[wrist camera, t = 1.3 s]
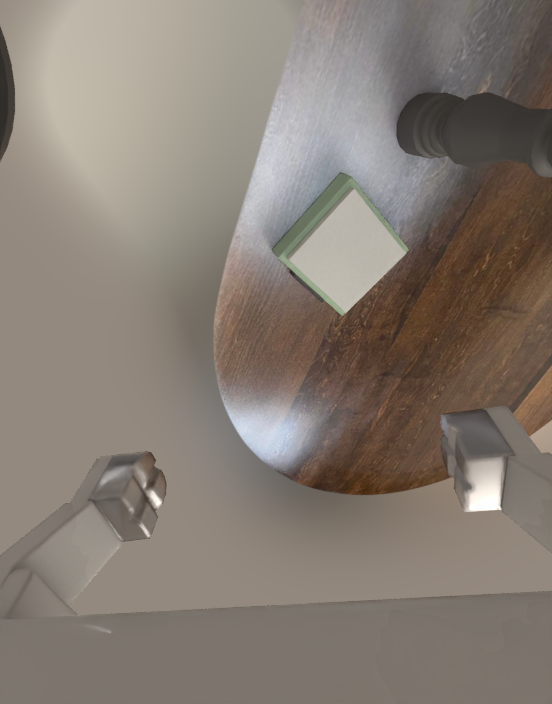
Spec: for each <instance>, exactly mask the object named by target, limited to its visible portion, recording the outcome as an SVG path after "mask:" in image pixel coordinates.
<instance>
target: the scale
mask: <svg viewBox="0 0 552 704" xmlns="http://www.w3.org/2000/svg"><path fill="white" fill-rule="evenodd" d="M272 251H273V252H274V253H275V255H276V256H277V257H278V258H279V259H280V260H281V261H282V262H283V263H284V264H285V265H286V266H288V267H289V268H290V269H291V270H290V273H291V274H292V276H293V277H294V278H295V279H297V280H298V281H299V282H300V283H301V284H302V285H303V286H304V287H306V288H307V289H308V290H309V291H310V292H311V293H312V294H313V295H314V296H316V297H317V298H318V299H319V300H320V301H321V302H323V301H324V300H325V301H326V302H327V303H328V304H330V305H331V306H332V307H333V308H334V309H335V310H336V311H337V312H338V313H340V314H341V315H342V316H343V315H344V314H345V313H346V312H347V311H348V310H349V309H350V308H351V307H352V306H353V305H354V304H355V303H356V302H357V301H358V300H359V299H360V298H361V297H362V296H363V295H365V294H366V293H367V292H368V291H369V290H370V289H371V288H372V287H373V286H374V285H375V284H376V283H377V282H378V281H379V280H380V279H381V278H382V277H383V276H384V275H385V274H386V273H387V272H388V271H389V270H390V269H391V268H392V267H393V266H394V265H395V264H396V263H397V262H398V261H399V260H400V259H401V258H402V257H403V256H404V255H405V254H406V252H407V251H408V248H407V247H406V246H405V244H404V243H403V242H402V241H401V239H400V238H399V237H398V235H397V234H396V233H395V232H394V230H393V229H392V228H391V227H390V225H389V224H388V223H387V221H386V220H385V219H384V218H383V216H382V215H381V214H380V212H379V211H378V210H377V209H376V207H375V206H374V205H373V204H372V202H371V201H370V200H369V198H368V197H367V196H366V195H365V193H364V192H363V191H362V189H361V188H360V187H359V186H358V184H357V183H356V182H355V181H354V179H353V178H352V177H350V176H348V175H345V174H343V173H340V174H339V175H338V176H337V178H336V179H335V180H334V181H333V182H332V183H331V184H330V185H329V187H328V188H327V189H326V190H325V191H324V192H323V193H322V194H321V195H320V197H319V198H318V199H317V200H316V201H315V202H314V203H313V204H312V206H311V207H310V208H309V209H308V210H307V211H306V212H305V213H304V214H303V216H302V217H301V218H300V219H299V220H298V221H297V222H296V223H295V225H294V226H293V227H292V228H291V229H290V230H289V231H288V232H287V233H286V235H285V236H284V237H283V238H282V239H281V240H280V241H279V242H278V244H277V245H276V246H275V247H274V248H273V249H272Z"/></svg>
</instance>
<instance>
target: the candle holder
mask: <svg viewBox="0 0 552 704" xmlns="http://www.w3.org/2000/svg"><path fill="white" fill-rule="evenodd" d="M397 139H398V142H399V145H400V147H401V148H402V149H403V150H404V151H405V152H406V153H409V154H413V155H417V156H421V157H426V158H430V159H431V158H435V157H437V158H441V157H445V156H449V158H450V159H451V160H452V161H453V162H454V163H456V164H460V165H464V166H468V167H470V166H476V165H483V164H491V163H498V162H505V161H514V162H520V163H526V164H528V166H529V167H530V169H531V170H532V171H533V173H534V174H536V175H540V176H543V177H547V178H548V177H551V176H552V109H528V108H526V107H523V106H521V105H519V104H516V103H514V102H512V101H509V100H507V99H505V98H502V97H500V96H498V95H495V94H492V93H480V94H476V95H472V96H470V97H468V98H467V99H466V100H464V99H463V98H460V97H457V96H454V95H451V94H448V93H425V94H420V95H417V96H416V97H414V98H413V99H412V100H410V101H409V102H408V103H407V105H406V106H405V108H404V109H403V110H402V112H401V114H400V117H399V120H398V123H397Z"/></svg>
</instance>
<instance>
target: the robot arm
mask: <svg viewBox="0 0 552 704" xmlns="http://www.w3.org/2000/svg"><path fill="white" fill-rule="evenodd" d="M440 426H441V428H442V430H443V433H444V435H443V436H442V437H441V438H440V441H441V452H442V458H443V461H444V464H445V467H446V470H447V472H448V474H449V475H450V476H452V477H453V478H454V489H455V492H456V494H457V496H458V499H459V501H460V503H461V506H462V508H463V510H464V512H468V511H483V510H484V511H485V510H502V512H503V513H504V514H505V515H507V516H508V517H509V518H510V519H512V520H513V521H514V522H515V523H516V524H518V525H519V526H520V527H521V528H522V529H524V530H525V531H526V532H527V533H528V534H529V535H531V536H532V537H533V538H534V539H535V540H537V541H538V542H539V543H540V544H542V545H543V546H544V547H545V548H546V549H547V550H549V551H550V552H551V553H552V454H550V453H541V452H540V451H539V449H538V448H537V447H536V445H535V444H534V443H533V441H532V440H531V439H530V437H529V436H528V434H527V433H526V432H525V430H524V429H523V427H522V426H521V425H520V423H519V422H518V421H517V419H516V418H515V416H514V415H513V414H512V412H511V411H510V410H509V408H508V407H506V406H497V407H489V408H483V409H476V410H469V411H461V412H454V413H446V414H442V415H441V419H440ZM155 461H156V459H155V458H154V456H153V455H152V453H151V452H136V453H127V454H117V455H111V456H101V457H100V458H98V459H97V460H96V461H95V463H94V464H93V466H92V468H91V469H90V471H89V472H88V474H87V476H86V477H85V479H84V481H83V482H82V484H81V486H80V488H79V489H78V491H77V492H76V494H75V496H74V497H73V499H72V501H71V502H70V503H65V504H64V505H63V506H61V507H60V508H59V509H58V510H56V511H55V512H54V513H53V514H51V515H50V516H49V517H48V518H46V519H45V520H44V521H43V522H41V523H40V524H39V525H38V526H36V527H35V528H34V529H33V530H31V531H30V532H29V533H28V534H26V535H25V536H24V537H22V538H21V539H20V540H19V541H18V542H16V543H15V544H14V545H12V546H11V547H10V548H9V549H7V550H6V551H5V552H4V553H2V554H1V555H0V704H552V591H542V592H541V591H540V592H521V593H502V594H482V595H463V596H445V597H424V598H405V599H387V600H368V601H367V600H366V601H349V602H328V603H308V604H289V605H271V606H252V607H232V608H214V609H194V610H176V611H175V610H174V611H156V612H136V613H116V614H96V615H77V614H76V613H75V612H74V611H73V610H72V609H71V608H70V607H69V605H70V604H71V603H72V602H73V601H74V600H75V598H76V597H77V596H78V595H79V594H80V593H81V591H82V590H83V589H84V588H85V587H86V585H87V584H88V583H89V582H90V580H92V579H93V577H94V576H95V575H96V574H97V573H98V571H99V570H100V569H101V568H102V567H103V566H104V565H105V563H106V562H107V561H108V560H109V559H110V558H111V556H112V555H113V554H114V553H115V552H116V550H117V549H118V548H119V547H120V546H121V545H122V542H124V541H132V540H141V539H150V537H151V534H152V532H153V529H154V526H155V523H156V521H157V518H158V516H157V513H156V511H155V510H156V509H157V508H158V507H159V506H160V505H161V504H163V501H164V498H165V495H166V480H165V476H164V475H163V472H162V471H161V470H160V469H158V468H156V467H155V466H154V464H155Z"/></svg>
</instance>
